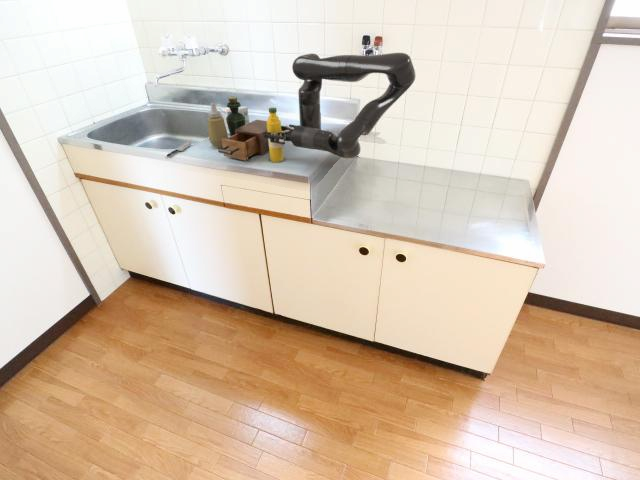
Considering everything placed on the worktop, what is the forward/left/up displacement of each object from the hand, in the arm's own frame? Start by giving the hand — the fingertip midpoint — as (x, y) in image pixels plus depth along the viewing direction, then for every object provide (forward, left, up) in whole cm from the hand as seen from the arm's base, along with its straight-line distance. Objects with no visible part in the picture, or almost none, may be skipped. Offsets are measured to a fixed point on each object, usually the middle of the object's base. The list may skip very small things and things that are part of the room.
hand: (270, 131), depth 141 cm
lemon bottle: (0, +2, -11) cm, 11 cm away
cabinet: (-8, -12, -11) cm, 18 cm away
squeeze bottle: (-1, -28, -11) cm, 30 cm away
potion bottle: (-11, -26, -11) cm, 30 cm away
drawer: (+4, -12, -10) cm, 16 cm away
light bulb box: (-20, -34, -11) cm, 41 cm away
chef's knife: (+9, -40, -11) cm, 43 cm away
